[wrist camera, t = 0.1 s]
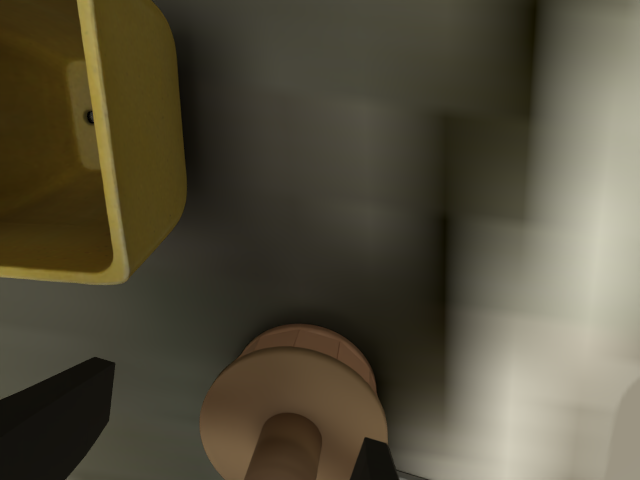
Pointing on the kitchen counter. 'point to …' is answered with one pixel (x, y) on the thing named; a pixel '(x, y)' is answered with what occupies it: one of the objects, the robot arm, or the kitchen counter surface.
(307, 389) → the lid
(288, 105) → the kitchen counter surface
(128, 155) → the flower pot
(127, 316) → the kitchen counter surface
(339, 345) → the bowl
